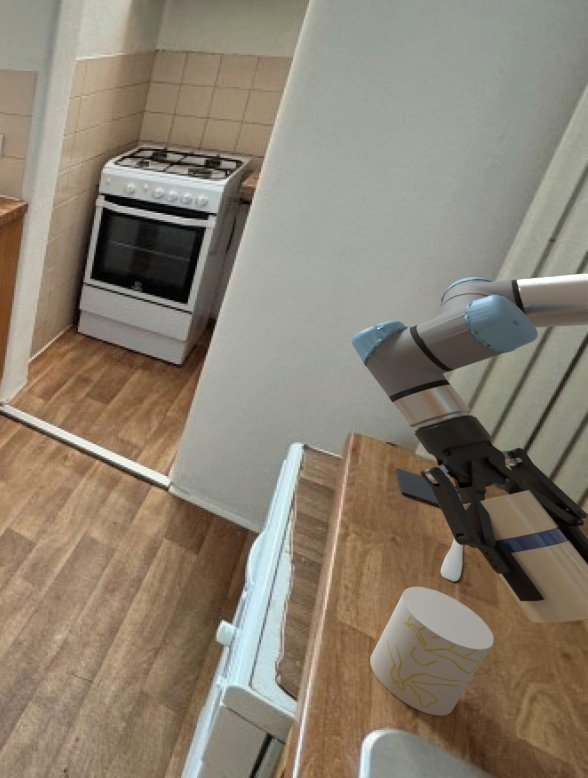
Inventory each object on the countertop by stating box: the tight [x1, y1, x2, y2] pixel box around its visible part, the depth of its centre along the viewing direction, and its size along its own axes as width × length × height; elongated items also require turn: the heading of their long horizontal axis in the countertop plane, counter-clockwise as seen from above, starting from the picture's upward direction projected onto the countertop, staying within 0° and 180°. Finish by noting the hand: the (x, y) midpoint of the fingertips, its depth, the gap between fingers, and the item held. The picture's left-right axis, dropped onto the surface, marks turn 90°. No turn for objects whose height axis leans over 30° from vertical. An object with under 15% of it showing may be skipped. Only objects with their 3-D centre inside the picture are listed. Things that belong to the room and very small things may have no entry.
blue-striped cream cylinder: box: [463, 490, 588, 624], centre depth 81 cm, size 14×9×9 cm
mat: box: [395, 467, 462, 506], centre depth 109 cm, size 10×8×1 cm
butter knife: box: [440, 537, 464, 583], centre depth 100 cm, size 1×27×3 cm
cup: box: [369, 586, 495, 716], centre depth 75 cm, size 8×8×12 cm
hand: (568, 591), depth 77 cm, fingers closed on blue-striped cream cylinder, 9 cm apart
